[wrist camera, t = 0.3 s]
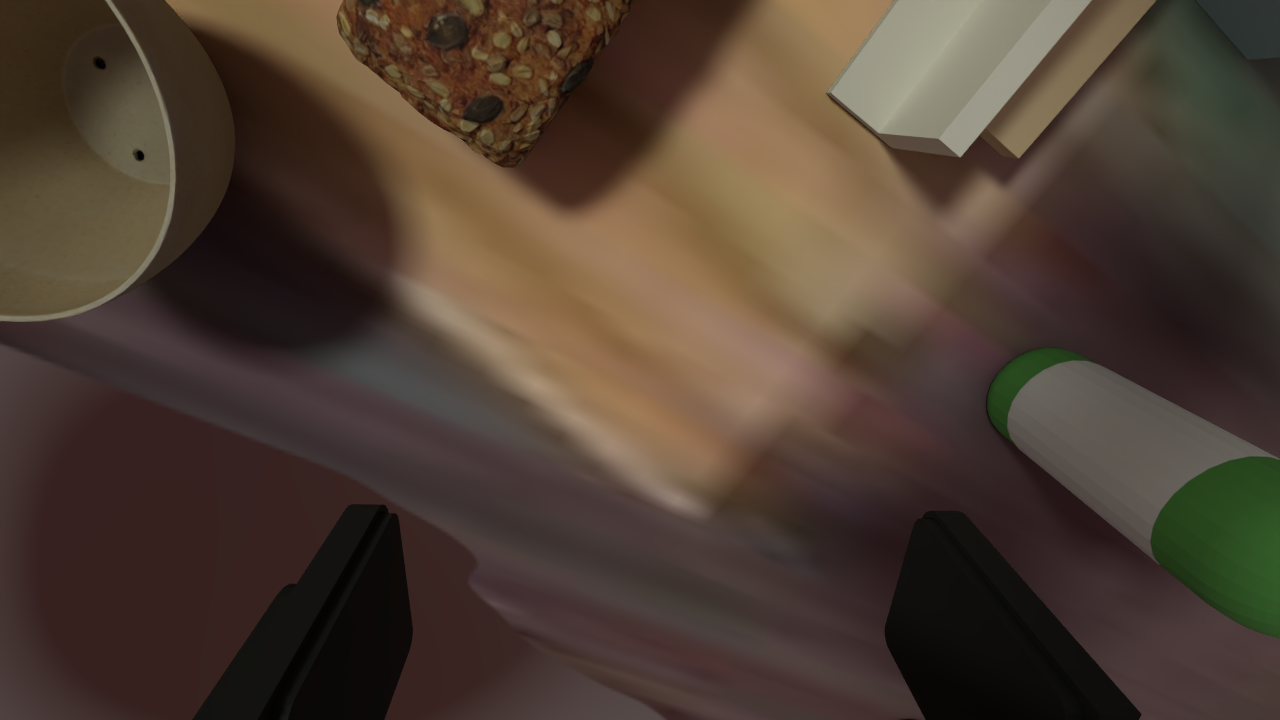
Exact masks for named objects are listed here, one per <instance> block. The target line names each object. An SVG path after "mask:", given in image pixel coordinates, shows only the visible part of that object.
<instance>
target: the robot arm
mask: <svg viewBox="0 0 1280 720" xmlns="http://www.w3.org/2000/svg"><path fill="white" fill-rule="evenodd" d="M412 635H413V627H412V618H411V611H410V603H409V596H408V587H407V580H406V572H405V564H404V556H403V549H402V541H401V534H400V526H399V519H398V516H397V514H395V513H388V509H387V507H386V506H385V505H362V504H361V505H360V504H352V505H349V506H348V507H347V508H346V509H345V511H344V512H343V514H342V516H341V517H340V518H339V520H338V522H337V523H336V525H335V526H334V528H333V529H332V531H331V532H330V534H329V536H328V537H327V538H326V540H325V541H324V543H323V544H322V546H321V548H320V549H319V551H318V552H317V554H316V555H315V557H314V558H313V560H312V561H311V563H310V564H309V566H308V567H307V569H306V570H305V572H304V574H303V575H302V577H301V578H300V580H299V581H298V583H297V584H289V585H287V586H285V587H284V588H283V589H282V590H281V591H280V592H279V593H278V595H277V596H276V597H275V599H274V600H273V602H272V603H271V605H270V606H269V608H268V609H267V611H266V612H265V613H264V615H263V616H262V618H261V619H260V621H259V622H258V624H257V625H256V627H255V628H254V630H253V631H252V633H251V634H250V636H249V637H248V638H247V640H246V641H245V643H244V645H243V646H242V647H241V649H240V650H239V652H238V653H237V655H236V656H235V658H234V659H233V661H232V662H231V663H230V665H229V667H228V668H227V669H226V671H225V673H224V674H223V675H222V677H221V678H220V680H219V681H218V683H217V684H216V686H215V687H214V689H213V690H212V691H211V693H210V694H209V696H208V697H207V699H206V700H205V702H204V703H203V705H202V706H201V708H200V709H199V711H198V712H197V713H196V715H195V717H194V718H193V719H192V720H384V719H385V716H386V713H387V710H388V708H389V705H390V702H391V700H392V697H393V694H394V691H395V689H396V686H397V683H398V680H399V678H400V675H401V672H402V670H403V667H404V664H405V661H406V659H407V656H408V653H409V650H410V647H411V642H412ZM885 639H886V643H887V646H888V648H889V650H890V652H891V654H892V656H893V658H894V660H895V662H896V664H897V666H898V668H899V670H900V672H901V673H902V675H903V677H904V679H905V681H906V683H907V685H908V687H909V689H910V691H911V693H912V695H913V696H914V698H915V700H916V702H917V704H918V706H919V708H920V710H921V712H922V714H923V716H924V718H925V719H926V720H1139V718H1140V716H1141V713H1140V712H1139V711H1138V710H1137V709H1136V707H1135V706H1134V705H1133V704H1132V703H1131V702H1130V701H1129V699H1128V698H1127V697H1126V696H1125V695H1124V694H1123V693H1122V692H1121V690H1120V689H1119V688H1118V687H1117V686H1116V685H1115V684H1114V682H1113V681H1112V680H1111V679H1110V678H1109V677H1108V676H1107V675H1106V673H1105V672H1104V671H1103V670H1102V669H1101V668H1100V667H1099V665H1098V664H1097V663H1096V662H1095V661H1094V660H1093V659H1092V658H1091V656H1090V655H1089V654H1088V653H1087V652H1086V651H1085V650H1084V648H1083V647H1082V646H1081V645H1080V644H1079V643H1078V642H1077V641H1076V639H1075V638H1074V637H1073V636H1072V635H1071V634H1070V633H1069V632H1068V630H1067V629H1066V628H1065V627H1064V626H1063V625H1062V624H1061V622H1060V621H1059V620H1058V619H1057V618H1056V617H1055V616H1054V615H1053V613H1052V612H1051V611H1050V610H1049V609H1048V608H1047V607H1046V605H1045V604H1044V603H1043V602H1042V601H1041V600H1040V599H1039V598H1038V596H1037V595H1036V594H1035V593H1034V592H1033V591H1032V590H1031V588H1030V587H1029V586H1028V585H1027V584H1026V583H1025V582H1024V581H1023V579H1022V578H1021V577H1020V576H1019V575H1018V574H1017V573H1016V571H1015V570H1014V569H1013V568H1012V567H1011V566H1010V565H1009V564H1008V562H1007V561H1006V560H1005V559H1004V558H1003V557H1002V556H1001V554H1000V553H999V552H998V551H997V550H996V549H995V548H994V547H993V545H992V544H991V543H990V542H989V541H988V540H987V539H986V538H985V536H984V535H983V534H982V533H981V532H980V531H979V530H978V528H977V527H976V526H975V525H974V524H973V523H972V522H971V521H970V519H969V518H968V517H967V516H966V515H965V514H963V513H962V512H959V511H929V512H926V513H925V514H924V516H923V518H922V519H918V520H917V521H916V522H915V524H914V526H913V530H912V533H911V537H910V540H909V544H908V548H907V551H906V555H905V558H904V562H903V565H902V569H901V572H900V576H899V579H898V583H897V586H896V590H895V593H894V597H893V600H892V604H891V607H890V611H889V614H888V618H887V622H886V625H885Z"/></svg>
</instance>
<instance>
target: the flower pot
mask: <svg viewBox="0 0 1280 720" xmlns="http://www.w3.org/2000/svg"><path fill="white" fill-rule="evenodd" d="M98 58H100V59H102V60H103V61H104V62H105V64H106V67H105V69H101V68H99V67H98V66H97V65H96V59H98ZM139 151H142V153H143V154H144V160H139V159H138V156H137V153H138V152H139ZM234 157H235V129H234V121H233V115H232V111H231V107H230V103H229V100H228V97H227V94H226V91H225V89H224V86H223V83H222V81H221V79H220V77H219V75H218V73H217V71H216V69H215V67H214V65H213V63H212V62H211V60H210V58H209V56H208V55H207V53H206V52H205V50H204V49H203V47H202V46H201V44H200V42H199V41H198V40H197V38H196V37H195V36H194V34H193V33H192V32H191V30H190V29H189V28H188V26H187V25H186V24H185V23H184V22H183V20H182V19H181V18H180V17H179V16H178V14H177V13H176V12H175V11H174V10H173V9H172V8H171V7H170V5H169V4H168V3H167V2H166V1H165V0H0V321H14V322H32V321H48V320H55V319H61V318H66V317H70V316H73V315H77V314H81V313H84V312H87V311H89V310H92V309H95V308H97V307H99V306H101V305H104V304H106V303H108V302H110V301H112V300H115V299H117V298H119V297H120V296H122V295H124V294H126V293H128V292H130V291H132V290H134V289H135V288H137V287H138V286H140V285H142V284H143V283H145V282H146V281H148V280H149V279H151V278H152V277H153V276H155V275H156V274H158V273H159V272H160V271H162V270H163V269H164V268H166V267H167V266H168V265H170V264H171V263H172V262H173V261H174V260H176V259H177V258H178V257H179V256H180V255H181V254H182V253H183V252H184V251H185V250H186V249H187V248H188V247H189V246H190V245H191V244H192V243H193V242H194V241H195V240H196V239H197V237H198V236H199V235H200V234H201V233H202V232H203V230H204V229H205V228H206V226H207V225H208V223H209V222H210V221H211V219H212V218H213V216H214V214H215V213H216V211H217V209H218V208H219V206H220V204H221V202H222V200H223V198H224V195H225V193H226V190H227V188H228V185H229V182H230V178H231V174H232V170H233V164H234Z"/></svg>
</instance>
